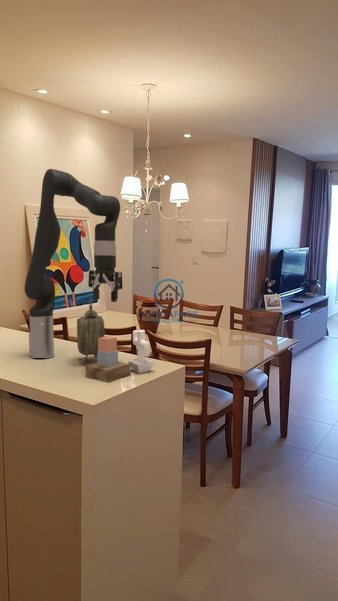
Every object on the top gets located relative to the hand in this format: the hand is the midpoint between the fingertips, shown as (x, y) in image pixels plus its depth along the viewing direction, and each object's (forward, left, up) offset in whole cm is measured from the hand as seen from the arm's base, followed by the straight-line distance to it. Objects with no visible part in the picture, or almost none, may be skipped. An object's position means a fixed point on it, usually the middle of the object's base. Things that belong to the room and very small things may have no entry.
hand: (105, 300), depth 160 cm
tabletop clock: (-17, +9, -26) cm, 33 cm away
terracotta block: (+3, -2, -17) cm, 17 cm away
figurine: (+8, +10, -26) cm, 29 cm away
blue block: (+3, -2, -22) cm, 22 cm away
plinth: (+3, -2, -26) cm, 26 cm away
